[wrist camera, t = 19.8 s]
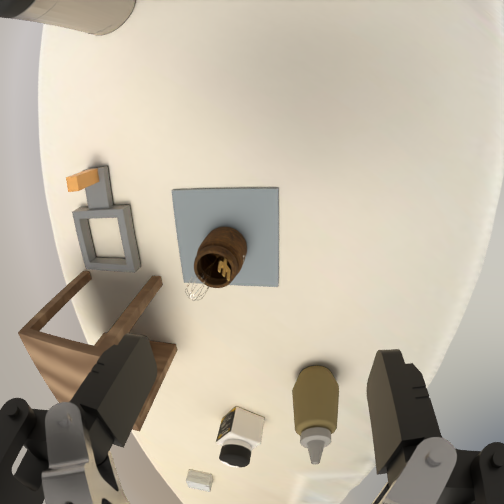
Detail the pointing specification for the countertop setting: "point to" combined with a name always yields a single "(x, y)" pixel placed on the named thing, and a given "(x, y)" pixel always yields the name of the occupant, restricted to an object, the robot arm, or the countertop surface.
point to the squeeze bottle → (315, 409)
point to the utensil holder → (219, 258)
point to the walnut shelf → (84, 355)
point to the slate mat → (235, 216)
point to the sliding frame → (102, 208)
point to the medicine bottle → (239, 436)
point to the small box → (199, 480)
